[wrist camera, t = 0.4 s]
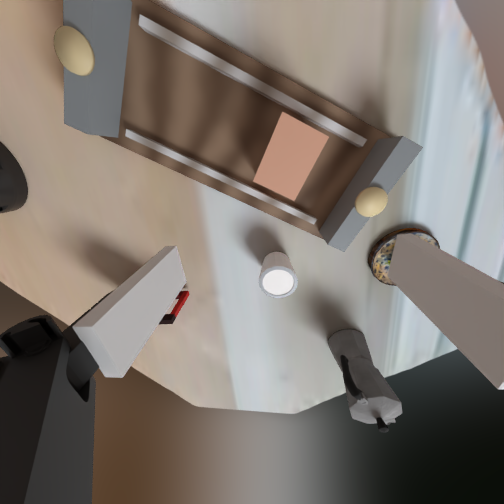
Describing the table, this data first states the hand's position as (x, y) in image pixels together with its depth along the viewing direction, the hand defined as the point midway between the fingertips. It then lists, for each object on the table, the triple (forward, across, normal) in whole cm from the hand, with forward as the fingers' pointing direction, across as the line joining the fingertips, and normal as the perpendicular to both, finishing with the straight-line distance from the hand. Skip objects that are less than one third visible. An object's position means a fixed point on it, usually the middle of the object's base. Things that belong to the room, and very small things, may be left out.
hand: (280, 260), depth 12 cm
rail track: (+25, -4, +9) cm, 27 cm away
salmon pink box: (+24, +2, +5) cm, 24 cm away
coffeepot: (+26, +16, -37) cm, 48 cm away
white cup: (+25, 0, -14) cm, 29 cm away
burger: (+26, +24, -14) cm, 38 cm away
